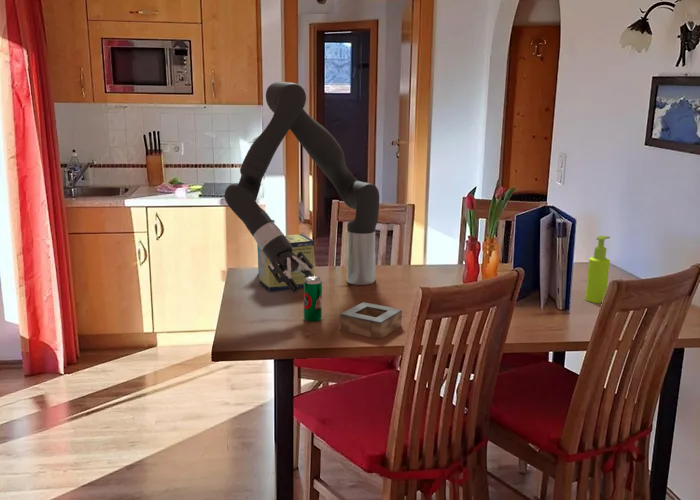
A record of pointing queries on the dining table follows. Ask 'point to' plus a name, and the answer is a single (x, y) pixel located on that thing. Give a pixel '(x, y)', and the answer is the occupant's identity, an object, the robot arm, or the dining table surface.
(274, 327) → the dining table surface
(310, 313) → the soda can
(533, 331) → the dining table surface
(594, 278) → the soap dispenser
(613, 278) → the dining table surface
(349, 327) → the square holder
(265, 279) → the protein box
